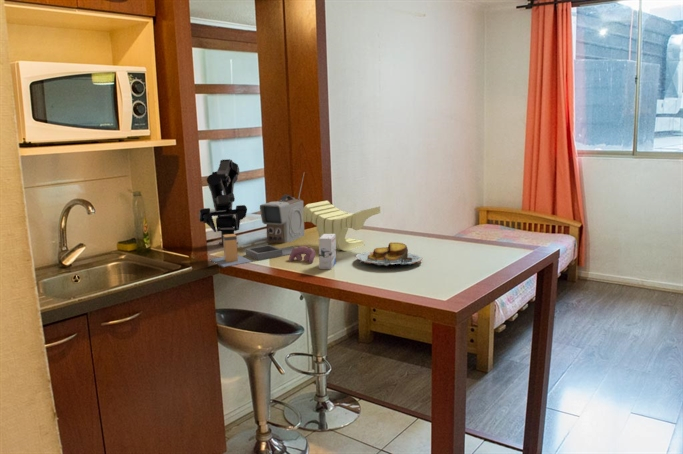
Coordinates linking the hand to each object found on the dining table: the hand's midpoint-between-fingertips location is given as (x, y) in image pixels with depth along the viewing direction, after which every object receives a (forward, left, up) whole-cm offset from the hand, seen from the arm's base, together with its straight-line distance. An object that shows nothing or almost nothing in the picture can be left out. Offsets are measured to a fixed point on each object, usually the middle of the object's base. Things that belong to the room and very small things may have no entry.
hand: (227, 230), depth 228 cm
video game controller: (+22, +21, -12) cm, 33 cm away
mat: (+5, -1, -12) cm, 13 cm away
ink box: (+35, +25, -12) cm, 44 cm away
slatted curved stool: (+12, +47, -12) cm, 50 cm away
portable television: (-16, +35, -12) cm, 40 cm away
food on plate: (+44, +46, -12) cm, 65 cm away
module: (+5, -1, -11) cm, 12 cm away
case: (+6, +18, -12) cm, 22 cm away
